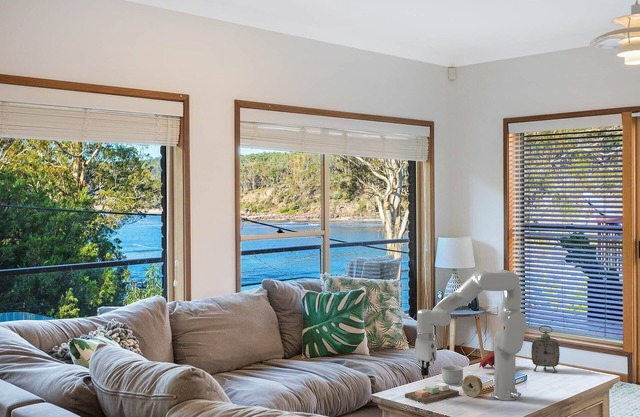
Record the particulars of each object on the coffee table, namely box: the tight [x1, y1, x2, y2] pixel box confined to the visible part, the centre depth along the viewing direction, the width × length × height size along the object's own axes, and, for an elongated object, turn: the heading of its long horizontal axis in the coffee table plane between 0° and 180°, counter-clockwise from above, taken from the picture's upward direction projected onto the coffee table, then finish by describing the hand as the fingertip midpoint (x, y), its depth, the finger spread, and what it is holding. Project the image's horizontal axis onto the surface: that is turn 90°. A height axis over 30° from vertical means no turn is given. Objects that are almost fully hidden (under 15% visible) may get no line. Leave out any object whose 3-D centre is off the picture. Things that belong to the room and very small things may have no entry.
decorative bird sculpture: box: [478, 350, 495, 370], centre depth 384 cm, size 28×9×15 cm
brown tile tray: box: [404, 387, 460, 404], centre depth 331 cm, size 12×24×2 cm, turn 127°
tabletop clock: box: [530, 324, 560, 374], centre depth 381 cm, size 14×9×25 cm, turn 73°
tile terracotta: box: [414, 389, 428, 397], centre depth 327 cm, size 4×4×2 cm
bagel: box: [461, 374, 484, 398], centre depth 332 cm, size 10×4×10 cm, turn 43°
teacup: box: [440, 364, 464, 385], centre depth 356 cm, size 14×11×8 cm
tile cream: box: [435, 382, 450, 391], centre depth 335 cm, size 4×4×2 cm
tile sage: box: [424, 384, 439, 394], centre depth 331 cm, size 4×4×2 cm
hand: (424, 375), depth 328 cm, fingers closed
